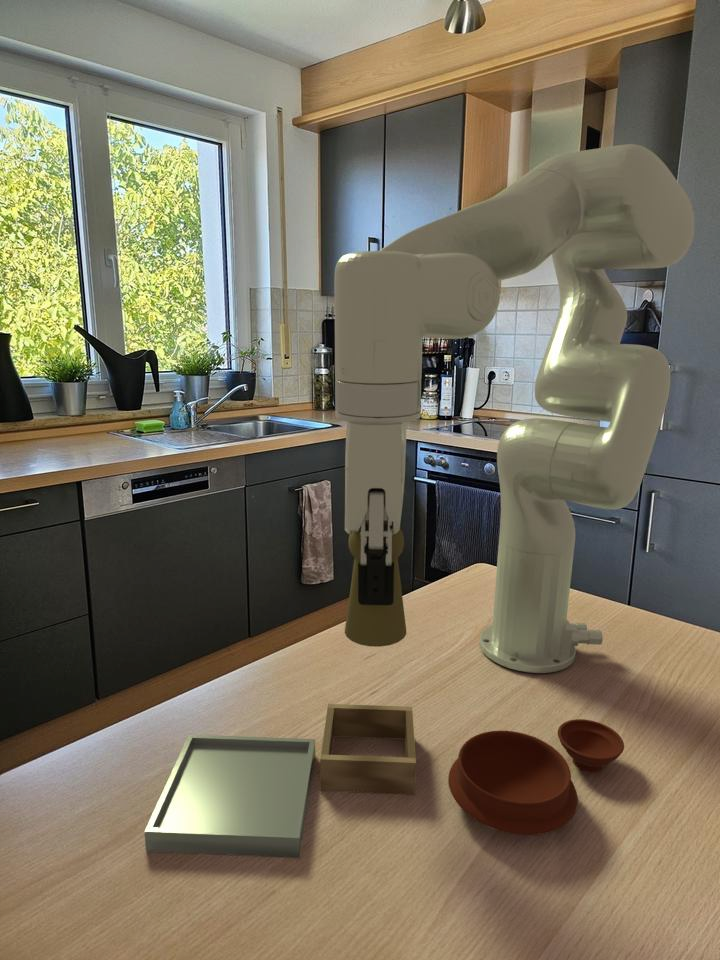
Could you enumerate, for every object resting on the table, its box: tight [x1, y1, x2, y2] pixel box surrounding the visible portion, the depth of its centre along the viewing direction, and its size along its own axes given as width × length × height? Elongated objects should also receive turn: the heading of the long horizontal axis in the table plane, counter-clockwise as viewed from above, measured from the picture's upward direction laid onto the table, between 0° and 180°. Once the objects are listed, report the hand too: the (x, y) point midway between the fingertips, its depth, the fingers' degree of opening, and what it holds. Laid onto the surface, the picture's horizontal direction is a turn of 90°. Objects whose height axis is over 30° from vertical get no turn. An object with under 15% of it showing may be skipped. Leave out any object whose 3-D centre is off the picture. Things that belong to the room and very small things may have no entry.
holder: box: [319, 703, 417, 795], centre depth 67 cm, size 9×9×4 cm
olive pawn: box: [344, 521, 407, 648], centre depth 63 cm, size 6×6×11 cm
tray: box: [144, 734, 316, 859], centre depth 61 cm, size 13×13×2 cm
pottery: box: [447, 718, 625, 836], centre depth 64 cm, size 12×20×4 cm, turn 122°
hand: (376, 588), depth 63 cm, fingers closed on olive pawn, 4 cm apart
